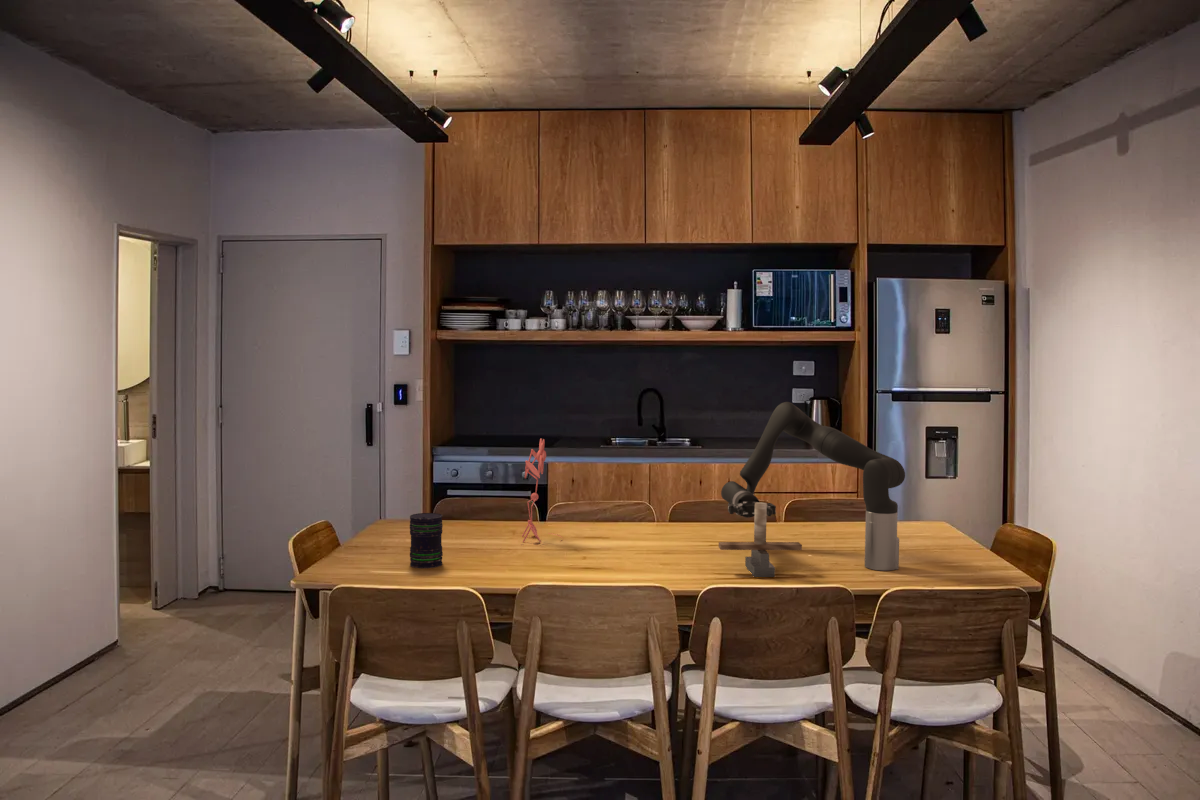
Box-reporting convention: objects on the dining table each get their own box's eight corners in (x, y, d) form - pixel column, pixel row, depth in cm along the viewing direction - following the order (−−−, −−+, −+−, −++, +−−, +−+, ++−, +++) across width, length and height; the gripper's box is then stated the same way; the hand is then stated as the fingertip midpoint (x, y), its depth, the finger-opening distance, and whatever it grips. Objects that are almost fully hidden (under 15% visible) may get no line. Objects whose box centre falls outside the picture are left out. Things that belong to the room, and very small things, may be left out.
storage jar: (414, 560, 285) (413, 512, 284) (445, 560, 285) (445, 513, 284) (406, 568, 275) (406, 518, 274) (438, 568, 275) (438, 519, 274)
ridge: (764, 566, 281) (765, 543, 280) (774, 577, 267) (775, 553, 266) (745, 566, 281) (745, 543, 280) (754, 577, 267) (754, 553, 266)
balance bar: (798, 547, 276) (799, 502, 275) (801, 550, 272) (802, 504, 271) (718, 546, 275) (719, 502, 274) (720, 549, 271) (721, 504, 270)
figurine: (520, 547, 304) (523, 442, 303) (519, 532, 330) (521, 434, 328) (567, 547, 306) (570, 442, 304) (561, 532, 332) (564, 435, 330)
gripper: (723, 491, 295) (732, 500, 279) (768, 492, 296) (779, 500, 279) (723, 515, 296) (732, 525, 279) (767, 515, 296) (779, 525, 280)
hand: (756, 512), depth 279 cm, fingers open, 8 cm apart
